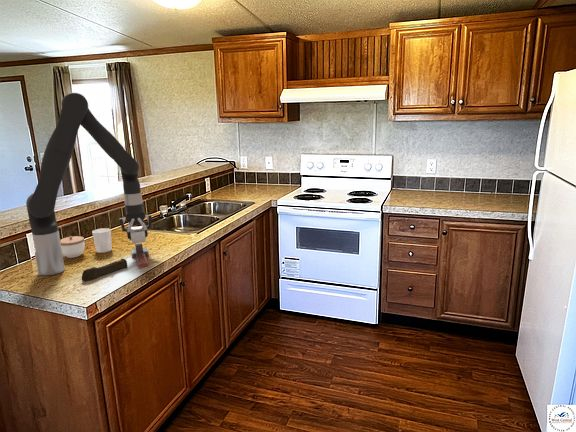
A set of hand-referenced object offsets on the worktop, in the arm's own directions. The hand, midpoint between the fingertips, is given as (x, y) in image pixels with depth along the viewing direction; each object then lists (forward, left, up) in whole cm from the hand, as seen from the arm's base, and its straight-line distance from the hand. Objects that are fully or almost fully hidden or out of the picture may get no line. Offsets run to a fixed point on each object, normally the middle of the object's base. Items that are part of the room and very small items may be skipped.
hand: (138, 238), depth 183 cm
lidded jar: (-28, +13, -8) cm, 32 cm away
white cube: (0, 0, -1) cm, 1 cm away
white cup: (-15, +14, -8) cm, 22 cm away
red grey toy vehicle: (0, -7, -8) cm, 11 cm away
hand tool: (-15, -19, -8) cm, 25 cm away
